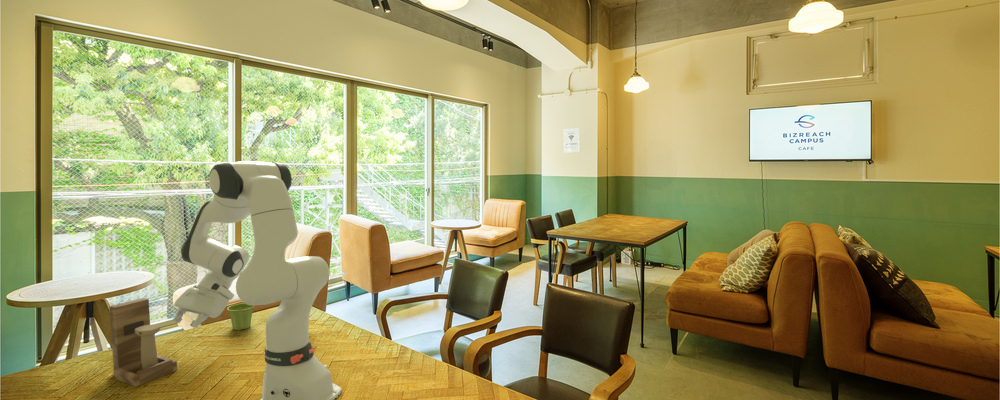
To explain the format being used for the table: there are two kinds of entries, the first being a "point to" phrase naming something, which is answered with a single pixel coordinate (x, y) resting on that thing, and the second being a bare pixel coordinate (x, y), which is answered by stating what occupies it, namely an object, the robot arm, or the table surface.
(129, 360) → the wooden frame stand
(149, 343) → the handle
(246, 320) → the plant pot
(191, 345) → the table surface
